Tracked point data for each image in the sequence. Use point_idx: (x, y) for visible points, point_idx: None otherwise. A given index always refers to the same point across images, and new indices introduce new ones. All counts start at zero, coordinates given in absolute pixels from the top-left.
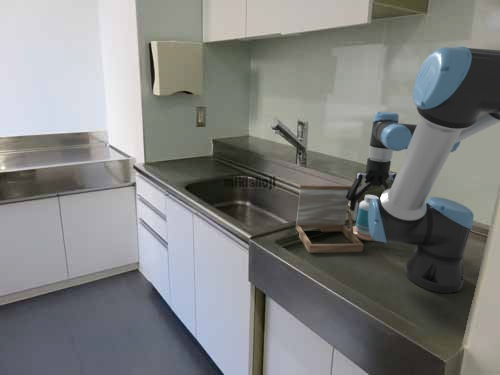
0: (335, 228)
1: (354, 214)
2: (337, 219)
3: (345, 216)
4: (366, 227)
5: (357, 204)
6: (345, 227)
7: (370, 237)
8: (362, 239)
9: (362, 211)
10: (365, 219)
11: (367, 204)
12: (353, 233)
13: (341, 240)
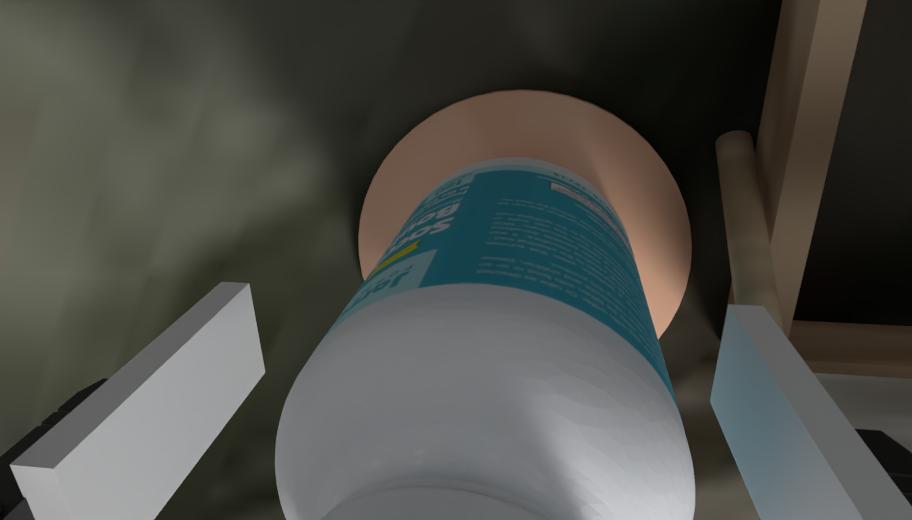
0: (853, 341)
1: (800, 365)
2: (891, 420)
3: None
4: (577, 198)
5: (880, 510)
6: (789, 297)
7: (520, 134)
8: (621, 121)
9: (668, 384)
10: (610, 261)
11: (608, 479)
12: (734, 180)
13: (908, 107)
